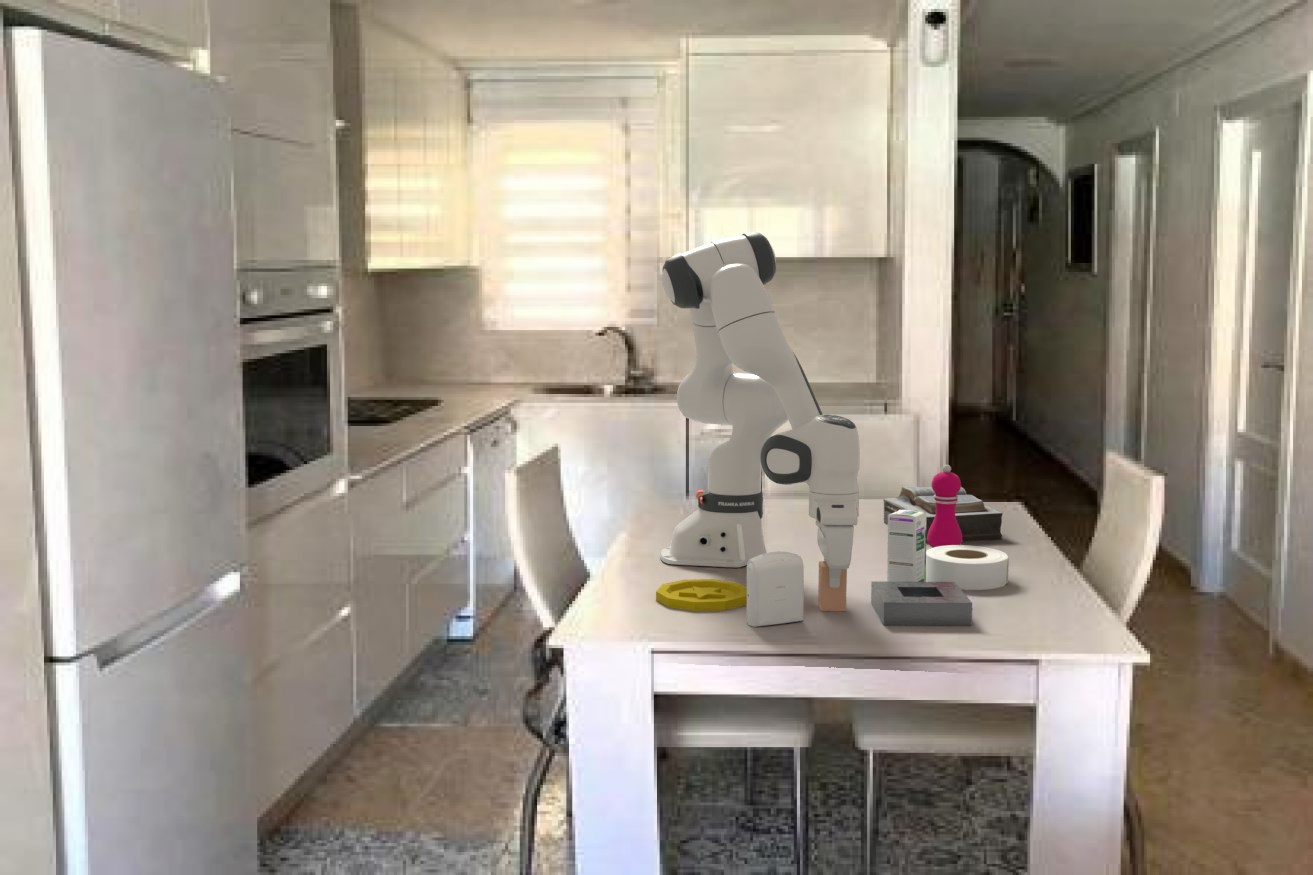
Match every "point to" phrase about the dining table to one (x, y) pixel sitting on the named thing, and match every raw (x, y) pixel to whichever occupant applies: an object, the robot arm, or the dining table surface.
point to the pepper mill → (945, 510)
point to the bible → (969, 512)
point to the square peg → (831, 590)
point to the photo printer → (775, 589)
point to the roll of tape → (967, 566)
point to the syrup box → (907, 546)
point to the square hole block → (921, 603)
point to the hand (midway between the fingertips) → (832, 582)
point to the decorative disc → (702, 595)
